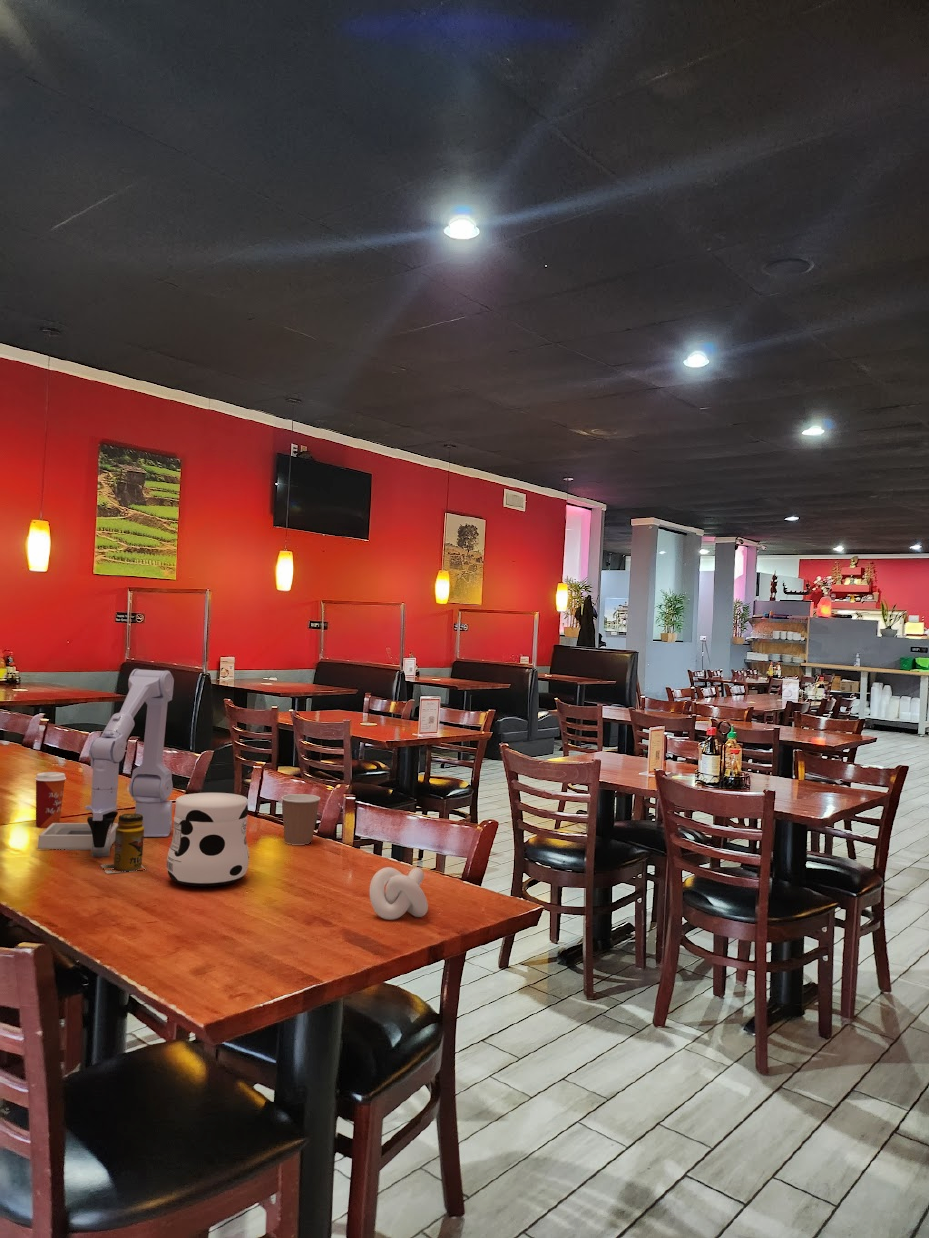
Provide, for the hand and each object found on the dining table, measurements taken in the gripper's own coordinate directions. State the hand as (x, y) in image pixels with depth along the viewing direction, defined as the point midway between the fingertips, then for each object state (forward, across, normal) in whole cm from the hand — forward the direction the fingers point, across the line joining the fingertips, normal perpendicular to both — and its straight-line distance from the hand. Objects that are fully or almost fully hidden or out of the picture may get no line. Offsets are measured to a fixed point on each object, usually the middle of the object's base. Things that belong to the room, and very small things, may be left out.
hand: (101, 844), depth 204 cm
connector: (+2, 0, 0) cm, 2 cm away
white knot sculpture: (+3, +49, +64) cm, 81 cm away
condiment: (+3, +12, +7) cm, 14 cm away
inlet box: (+2, -12, -7) cm, 14 cm away
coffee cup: (+3, -12, +47) cm, 49 cm away
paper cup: (+3, -32, -19) cm, 37 cm away
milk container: (+3, +23, +26) cm, 35 cm away
